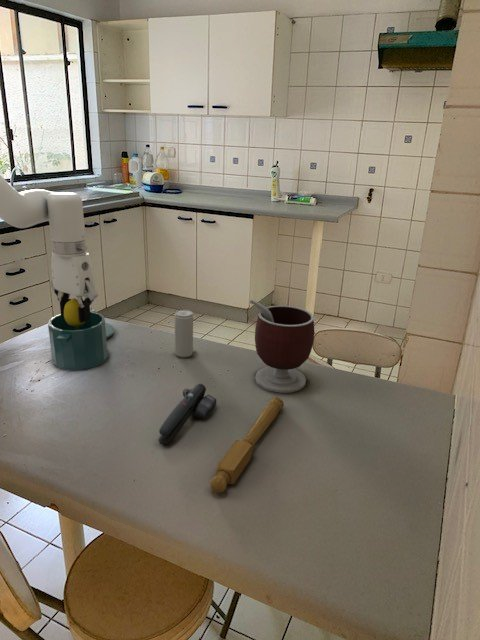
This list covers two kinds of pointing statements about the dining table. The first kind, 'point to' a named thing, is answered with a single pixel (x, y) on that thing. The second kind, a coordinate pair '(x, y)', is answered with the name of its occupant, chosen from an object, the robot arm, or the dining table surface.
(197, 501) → the dining table surface
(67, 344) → the pot
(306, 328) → the mate gourd
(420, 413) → the dining table surface
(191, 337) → the beverage can
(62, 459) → the dining table surface
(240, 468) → the tap handle
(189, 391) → the can opener
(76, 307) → the lemon
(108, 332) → the lid
